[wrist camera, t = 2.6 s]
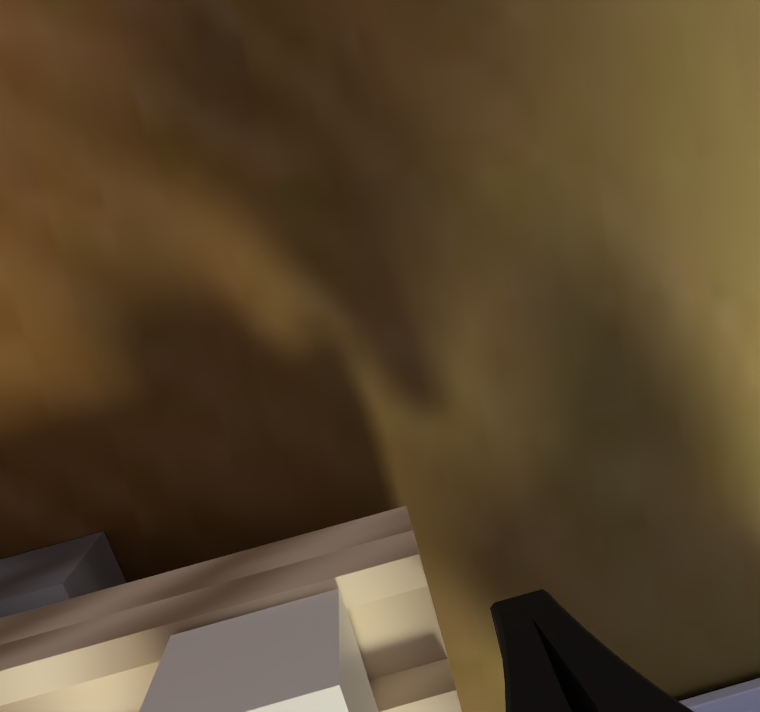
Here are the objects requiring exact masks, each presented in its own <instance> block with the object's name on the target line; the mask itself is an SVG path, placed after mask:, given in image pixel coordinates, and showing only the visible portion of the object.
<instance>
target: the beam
mask: <svg viewBox="0 0 760 712" xmlns="http://www.w3.org/2000/svg"><path fill="white" fill-rule="evenodd" d="M335 589H339V591H340V594H341V597H342V600H343V603H344V606H345V609H346V610H347V613H348V616H349V619H350V622H351V626H352V629H353V632H354V635H355V638H356V641H357V644H358V647H359V650H360V653H361V656H362V659H363V663H364V666H365V669H366V672H367V677H368V680H369V683H370V686H371V690H372V693H373V696H374V699H375V702H376V705H377V708H378V711H379V712H462V710H461V706H460V702H459V699H458V695H457V691H456V687H455V684H454V680H453V676H452V672H451V668H450V665H449V661H448V657H447V653H446V649H445V646H444V642H443V638H442V635H441V631H440V627H439V624H438V620H437V616H436V613H435V609H434V605H433V602H432V598H431V594H430V591H429V587H428V583H427V580H426V576H425V572H424V569H423V565H422V561H421V557H420V554H419V550H418V546H417V543H416V539H415V535H414V532H413V528H412V524H411V521H410V517H409V513H408V510H407V506H403V507H400V508H396V509H392V510H389V511H385V512H382V513H378V514H374V515H371V516H367V517H363V518H360V519H356V520H353V521H349V522H345V523H342V524H338V525H335V526H331V527H327V528H324V529H320V530H317V531H313V532H309V533H306V534H302V535H299V536H295V537H291V538H288V539H284V540H280V541H277V542H273V543H270V544H266V545H262V546H259V547H255V548H252V549H248V550H244V551H241V552H237V553H234V554H230V555H226V556H223V557H219V558H215V559H212V560H208V561H205V562H201V563H197V564H194V565H190V566H187V567H183V568H179V569H176V570H172V571H169V572H165V573H161V574H158V575H154V576H151V577H147V578H143V579H140V580H136V581H132V582H129V583H127V582H126V580H125V578H124V576H123V574H122V571H121V569H120V567H119V565H118V562H117V560H116V558H115V556H114V553H113V551H112V549H111V547H110V544H109V542H108V540H107V538H106V535H105V533H104V531H103V532H99V533H95V534H92V535H88V536H84V537H81V538H77V539H74V540H70V541H66V542H63V543H59V544H55V545H52V546H48V547H44V548H41V549H37V550H34V551H30V552H26V553H23V554H19V555H15V556H12V557H8V558H4V559H1V560H0V712H139V711H140V708H141V706H142V703H143V701H144V699H145V696H146V694H147V691H148V689H149V686H150V684H151V682H152V679H153V677H154V674H155V672H156V669H157V667H158V665H159V662H160V660H161V657H162V655H163V653H164V650H165V648H166V645H167V643H168V640H169V638H170V636H171V635H175V634H178V633H182V632H185V631H189V630H193V629H196V628H200V627H203V626H207V625H210V624H214V623H218V622H221V621H225V620H228V619H232V618H235V617H239V616H243V615H246V614H250V613H253V612H257V611H260V610H264V609H268V608H271V607H275V606H278V605H282V604H285V603H289V602H293V601H296V600H300V599H303V598H307V597H310V596H314V595H318V594H321V593H325V592H328V591H332V590H335Z"/></svg>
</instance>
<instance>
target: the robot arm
mask: <svg viewBox="0 0 760 712" xmlns="http://www.w3.org/2000/svg"><path fill="white" fill-rule="evenodd" d="M490 609H491V613H492V617H493V622H494V626H495V630H496V634H497V638H498V642H499V647H500V651H501V655H502V659H503V669H504V678H505V700H506V712H760V678H757V679H754V680H750V681H747V682H744V683H740V684H737V685H733V686H730V687H726V688H723V689H719V690H716V691H712V692H709V693H706V694H702V695H699V696H695V697H692V698H688V699H685V700H681V701H677V700H676V699H674V698H673V697H671V696H670V695H668V694H667V693H666V692H664V691H663V690H661V689H660V688H658V687H657V686H656V685H654V684H653V683H652V682H650V681H649V680H648V679H646V678H645V677H644V676H642V675H641V674H640V673H638V672H637V671H636V670H634V669H633V668H632V667H630V666H629V665H628V664H627V663H625V662H624V661H623V660H622V659H620V658H619V657H618V656H617V655H615V654H614V653H613V652H612V651H611V650H609V649H608V648H607V647H606V646H605V645H603V644H602V643H601V642H600V641H599V640H598V639H596V638H595V637H594V636H593V635H592V634H591V633H589V632H588V631H587V630H586V629H585V628H584V627H583V626H582V625H581V624H579V623H578V622H577V621H576V620H575V619H574V618H573V617H572V616H571V615H570V614H569V613H568V612H567V611H566V610H565V609H564V608H562V607H561V606H560V605H559V604H558V603H557V602H556V601H555V599H554V598H553V597H552V596H551V595H550V594H549V593H548V592H546V591H545V590H543V589H542V590H538V591H535V592H531V593H527V594H524V595H520V596H517V597H513V598H510V599H506V600H503V601H499V602H496V603H494V604H493V605H492V606H491V608H490Z"/></svg>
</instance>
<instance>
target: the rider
mask: <svg viewBox="0 0 760 712" xmlns="http://www.w3.org/2000/svg"><path fill="white" fill-rule="evenodd" d="M139 712H379V711H378V708H377V705H376V702H375V699H374V696H373V693H372V690H371V686H370V683H369V680H368V677H367V672H366V669H365V666H364V663H363V659H362V656H361V653H360V650H359V647H358V644H357V641H356V638H355V635H354V632H353V629H352V626H351V622H350V619H349V616H348V613H347V610H346V609H345V606H344V603H343V600H342V597H341V594H340V591H339V589H335V590H332V591H328V592H325V593H321V594H318V595H314V596H310V597H307V598H303V599H300V600H296V601H293V602H289V603H285V604H282V605H278V606H275V607H271V608H268V609H264V610H260V611H257V612H253V613H250V614H246V615H243V616H239V617H235V618H232V619H228V620H225V621H221V622H218V623H214V624H210V625H207V626H203V627H200V628H196V629H193V630H189V631H185V632H182V633H178V634H175V635H171V636H170V638H169V640H168V643H167V645H166V648H165V650H164V653H163V655H162V657H161V660H160V662H159V665H158V667H157V669H156V672H155V674H154V677H153V679H152V682H151V684H150V686H149V689H148V691H147V694H146V696H145V699H144V701H143V703H142V706H141V708H140V711H139Z"/></svg>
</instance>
